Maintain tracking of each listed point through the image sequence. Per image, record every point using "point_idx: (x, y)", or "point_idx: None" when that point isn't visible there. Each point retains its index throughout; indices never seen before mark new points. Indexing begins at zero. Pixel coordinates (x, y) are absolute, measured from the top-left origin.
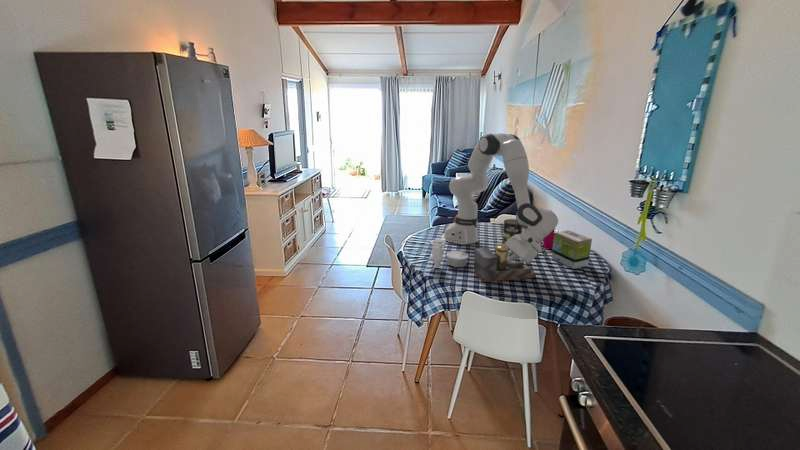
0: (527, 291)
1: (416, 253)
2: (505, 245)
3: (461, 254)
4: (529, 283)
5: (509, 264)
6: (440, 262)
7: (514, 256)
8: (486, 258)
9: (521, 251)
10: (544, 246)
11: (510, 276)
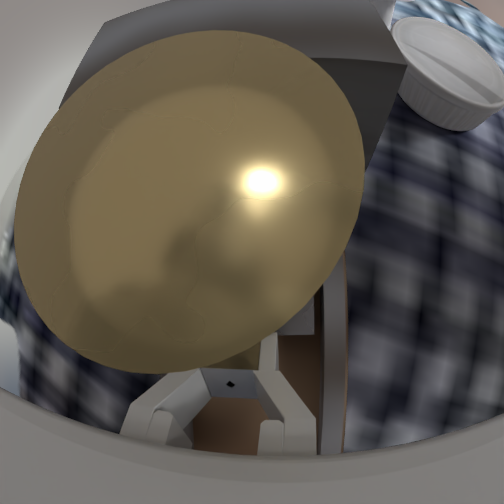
0: (48, 341)
1: (488, 31)
2: (223, 299)
3: (467, 73)
4: (116, 413)
5: (323, 393)
6: (375, 5)
7: (132, 410)
8: (99, 35)
9: (7, 467)
10: None
11: None
